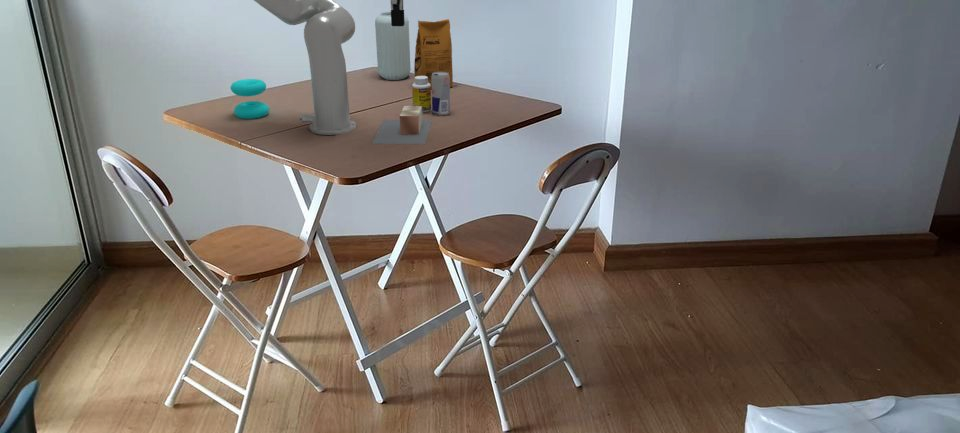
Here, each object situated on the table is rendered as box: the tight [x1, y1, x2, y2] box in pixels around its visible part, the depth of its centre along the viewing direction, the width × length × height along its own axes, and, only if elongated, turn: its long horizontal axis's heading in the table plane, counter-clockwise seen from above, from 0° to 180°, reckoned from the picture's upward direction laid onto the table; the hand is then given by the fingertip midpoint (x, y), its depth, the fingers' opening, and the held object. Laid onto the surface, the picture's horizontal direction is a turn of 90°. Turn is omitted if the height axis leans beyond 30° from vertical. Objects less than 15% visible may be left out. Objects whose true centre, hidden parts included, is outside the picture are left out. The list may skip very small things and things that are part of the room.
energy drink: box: [431, 72, 451, 117], centre depth 217 cm, size 5×5×12 cm
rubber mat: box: [371, 119, 433, 145], centre depth 203 cm, size 14×22×1 cm, turn 178°
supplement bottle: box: [411, 76, 432, 114], centre depth 221 cm, size 6×6×10 cm
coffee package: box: [413, 18, 454, 89], centre depth 245 cm, size 10×12×22 cm
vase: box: [374, 11, 411, 81], centre depth 257 cm, size 12×12×22 cm
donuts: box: [230, 78, 270, 120], centre depth 216 cm, size 10×10×10 cm
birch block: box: [399, 105, 423, 134], centre depth 204 cm, size 5×5×10 cm
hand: (398, 25), depth 190 cm, fingers closed
